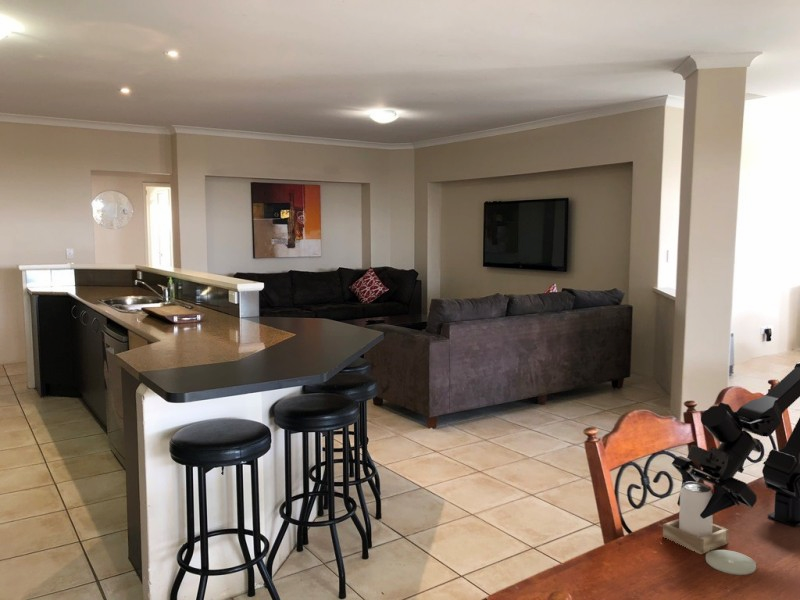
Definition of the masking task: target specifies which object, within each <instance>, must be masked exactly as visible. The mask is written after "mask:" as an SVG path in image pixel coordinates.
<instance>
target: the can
mask: <svg viewBox="0 0 800 600" xmlns="http://www.w3.org/2000/svg"><path fill="white" fill-rule="evenodd" d="M682 486H683V487H682ZM681 487H682V489H681V488H680V490H679V495H680V506H679V512H678V513H679V518H678V519H679V529H680V530H682V531H685V532H687V533H689V534H692V535H694V536H697V537H699V538H702V537H704V536H707V535H709V534H712V523H713V519H714V517H713V515H714V514H713V515H711V516H709V517H707V518H704V519H703V518H702V517H701V516H700V514H701V513H702V512H703V510H704V509H705V508H706V506H707V504H708V502H709V500H710V498H711V497H712V495H713V494H714V493H712V488H711V486H710V485H708V484H706V483H703V482H700V481H698V482H685V483H683V485H682V484H681Z"/></svg>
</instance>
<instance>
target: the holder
mask: <svg viewBox="0 0 800 600" xmlns="http://www.w3.org/2000/svg"><path fill="white" fill-rule="evenodd" d="M662 525H663V526H662V538H663V537H664V538H663V539H665V538H667V539H666V540H668V539H669V540H668V541H670V540H671V541H670V542H672V541H674V542H675V544H677V543H678V544H677V545H679V544H680V546H681V545H682V546H681V547H683V546H684V547H683V548H685V547H686V549H688V550H690V551H693V552H694V551H695V552H694V553H696V554H699V555H704V554H707V553H708V552H710V550H711V551H713V550H716V549H718V548H721V547H722V546H725V545H728V544H729V529H728V528H725V527H723V526H721V525H717V524H715V523H713V522H712V534H709V535H707V536H704V537H702V538H699V537H697V536H694V535H692V534H689V533H687V532H685V531H682V530H680V529H679V518H677V519H674V520H671V521H668V522H665V523H663V524H662ZM674 542H673V543H674Z"/></svg>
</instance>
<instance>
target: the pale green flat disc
mask: <svg viewBox="0 0 800 600" xmlns="http://www.w3.org/2000/svg"><path fill="white" fill-rule="evenodd" d="M705 561H706V563H707V565H708V566H710V567H711V568H713V569H715V570H716V571H719V572H722V573H725V574H729V575H735V576H737V575H738V576H747V575H750V574H753V573H755V572H756V571H757V563H756V562H755V560H754V559H752V558H751V557H749V556H748V555H746V554H743V553H741V552H737V551H734V550H729V549H728V550H726V549H713V550H711V551H708V552H706V553H705Z"/></svg>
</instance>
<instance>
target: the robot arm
mask: <svg viewBox="0 0 800 600" xmlns="http://www.w3.org/2000/svg"><path fill="white" fill-rule="evenodd" d="M799 398H800V361H798V362H796V364H795V365H794V368H793V369H792V370H791V371H790V372H789V373H788V374H787V375H785V376H784V377H783V378H782V379H781V380H780V381H779V382H778V383H777V384H775V385H774V387H772V388H771V389H770V390H769V391H768V392H767V393H766V394H765V395H763V396H762V397H759V398H756V399H755V398H754V399H752V400H751V399H750V400H749V401H748V402H746V403H744V404H743V405H741V406H739V408H738V409H736V410H733V409H732V407H731V405H729V404H728V403H725V402H721V401H720V402H719V403H718V405H715V406H714V405H713V406H712V407H709V408H708V409H706V410H704V412H702V414H701V416H700V422H701V424H702V425H703V426H704V427H705V429H706V430H707V431H708V432H709V433H710V434H711V435H712V437H713V438H714V439H715V440H716V441H717V442H719V443H720V444H719V445H718V446H717V448H716V447H710V449H708V450H707V449H704V448H702V447H699V446H697V445H694V444H691V446H690V448H689V452H688V454H687V456H686V457H684V456H681V455H680V456H679V455H678V456H676V457H675V458H674V459H673V461H672V463H671V465H672V466H673V468H675V469H676V470H677V471H678V473H679V474H680V475H681V478H682V479H681V488H680V490H681V489H682V487H683V486H682V485H683V483H685V482H701V480H702V481H704V482H706V483H709V484H711V485H713V486H714V489H713V493H712V494H713V495H712V497H711V498H710V500H709V502H708V504H707V506H706V508H705V509H704V510H703V512H702V513H701V514H700V516H701V517H702V518H703V519H704V518H707V517H709V516H711V515H715V514H716V513H719V512H721V511H723V510H726V509H729V508H731V507H734V506H736V507H739V506H740V505H741V504H742V505H743V506H746V507H747V508H750V509H752V508H753V507H754V505H755V504H756V503H757V494H756V493H755V491H754V490H752V488H751V487H750V486H749V484H747V483H746V482H745V481H743V480H739V479H738V478H735V477H734V476H735V475H736V474H737V473H740V474H742V473H743V472H744V470H745V469H744V467H743V464H744V463H745V462H746V460H747V458H748V457H749V456H750V454H752V452H753V451H754V452H757V453H761V452H762V447H761V442H760V441H761V440H760V439H758V438H757V437H756V438H755V437H753V436H752V434H753V435H757V436H761V437H766V438H767V437H769V436H771V435H773V433H774V432H775V431H776V429H777V428H778V427H779V426H780V424H781V423H782V416H783V413H784V412H785V411H786V410H787V409H788V408H790V406H792V405H793V404H794V403H795V402H796V401H797V400H798V399H799ZM694 461H695V462H696V463H695V462H694ZM762 464H763V467H762V471H761V472H762V475H763V479H764V483H765V488H766V489H769V490H772V491H774V508H773V510H774V511H772V512H771V513H768V514H767V518H770V519H772V520H775V521H778V522H781V523H784V524H786V525H788V526H791V527H794V528H795V527H799V526H800V417H799V418H798V420H797V421H796V424H795V426H794V427H793V429H792V431H791V433H790V435H789V437H788V440H787V441H786V443H785V445H784V446H783V447H782V448H781V449H778V450H777V449H771V450H770V451H769V453H768V455H767V457H766V459H765V461H763V463H762ZM698 466H699V467H698ZM700 468H701V469H700ZM676 503H677V506H678V507H680V494H679V495H678V500H677V502H676Z"/></svg>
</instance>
